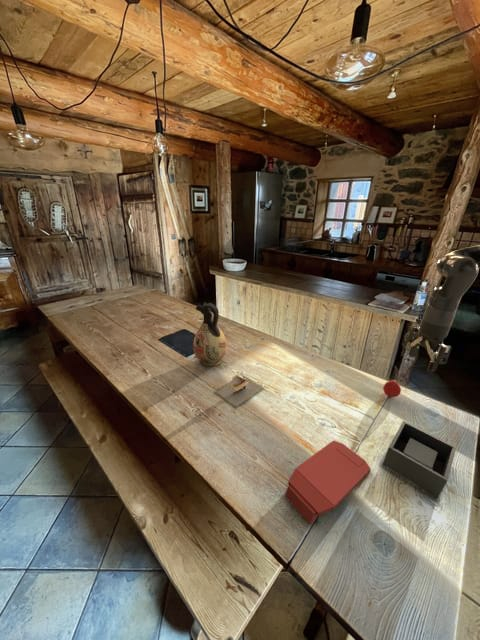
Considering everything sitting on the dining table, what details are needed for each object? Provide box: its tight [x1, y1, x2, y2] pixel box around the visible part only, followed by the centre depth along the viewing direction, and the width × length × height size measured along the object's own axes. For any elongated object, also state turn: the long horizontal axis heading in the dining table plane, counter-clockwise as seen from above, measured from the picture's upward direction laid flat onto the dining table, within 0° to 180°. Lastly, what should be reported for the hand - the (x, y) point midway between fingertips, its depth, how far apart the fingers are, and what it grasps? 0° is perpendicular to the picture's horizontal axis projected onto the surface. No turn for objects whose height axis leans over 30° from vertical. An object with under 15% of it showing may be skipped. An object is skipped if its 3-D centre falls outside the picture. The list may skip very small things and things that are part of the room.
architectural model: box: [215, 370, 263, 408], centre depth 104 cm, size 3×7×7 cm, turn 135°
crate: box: [382, 420, 457, 499], centre depth 76 cm, size 14×14×8 cm
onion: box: [382, 379, 402, 398], centre depth 102 cm, size 6×6×8 cm
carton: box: [284, 439, 372, 525], centre depth 73 cm, size 12×5×25 cm
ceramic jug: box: [192, 302, 228, 367], centre depth 117 cm, size 17×15×30 cm
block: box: [403, 438, 438, 470], centre depth 76 cm, size 7×7×5 cm
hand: (420, 363), depth 89 cm, fingers open, 8 cm apart
